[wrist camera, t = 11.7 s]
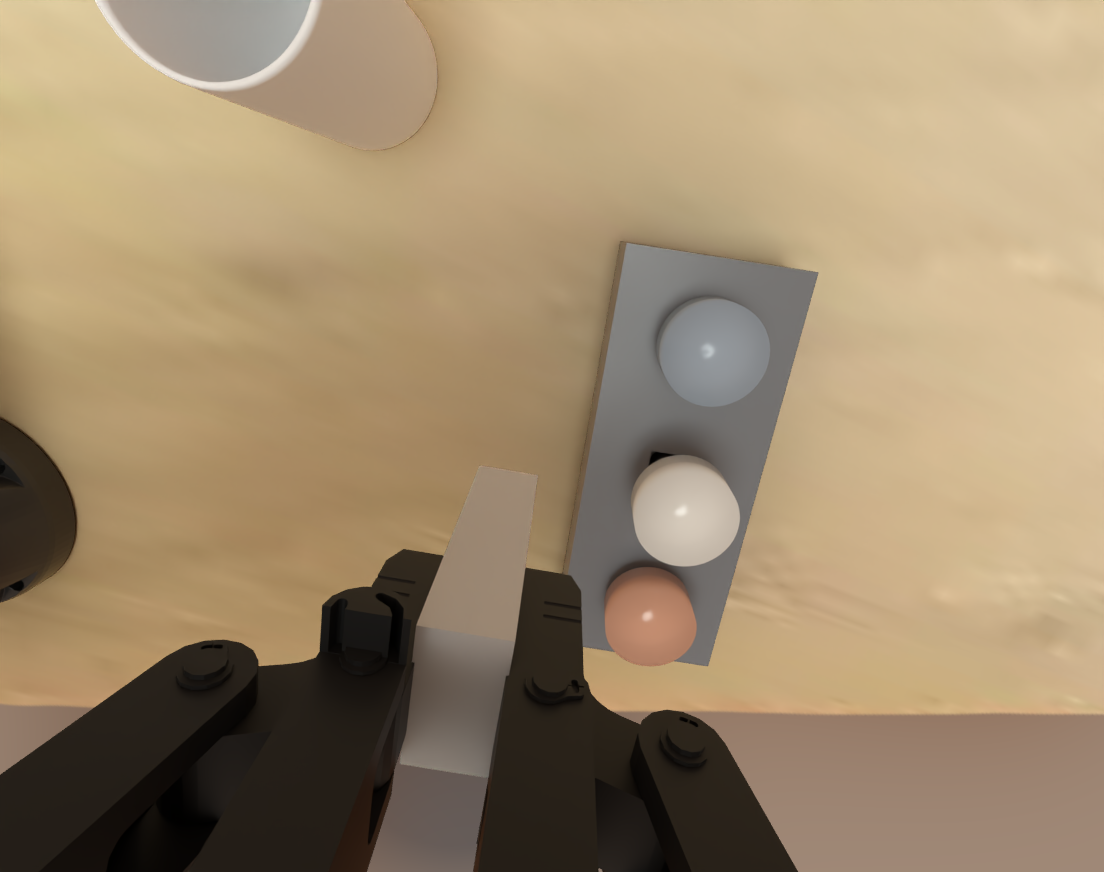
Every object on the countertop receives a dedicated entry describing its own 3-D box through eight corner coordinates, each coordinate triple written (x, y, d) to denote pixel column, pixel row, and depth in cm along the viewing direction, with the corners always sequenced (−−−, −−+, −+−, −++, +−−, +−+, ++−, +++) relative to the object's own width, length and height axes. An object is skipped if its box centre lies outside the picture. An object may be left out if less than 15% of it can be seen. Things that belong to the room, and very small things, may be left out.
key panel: (559, 590, 45) (555, 642, 39) (620, 241, 37) (626, 242, 31) (692, 611, 45) (707, 666, 39) (782, 266, 37) (818, 272, 31)
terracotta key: (596, 588, 42) (598, 658, 35) (609, 522, 41) (614, 582, 34) (669, 599, 42) (685, 672, 35) (685, 534, 41) (705, 597, 34)
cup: (464, 46, 34) (366, -105, 19) (395, 179, 36) (260, 140, 21) (335, -47, 33) (121, -287, 18) (273, 96, 35) (38, -7, 20)
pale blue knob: (639, 367, 37) (652, 398, 30) (656, 281, 36) (673, 293, 29) (722, 380, 37) (754, 414, 30) (743, 295, 36) (782, 310, 28)
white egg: (618, 497, 38) (625, 557, 31) (633, 419, 36) (645, 464, 29) (699, 510, 38) (725, 573, 31) (719, 433, 36) (751, 480, 29)
